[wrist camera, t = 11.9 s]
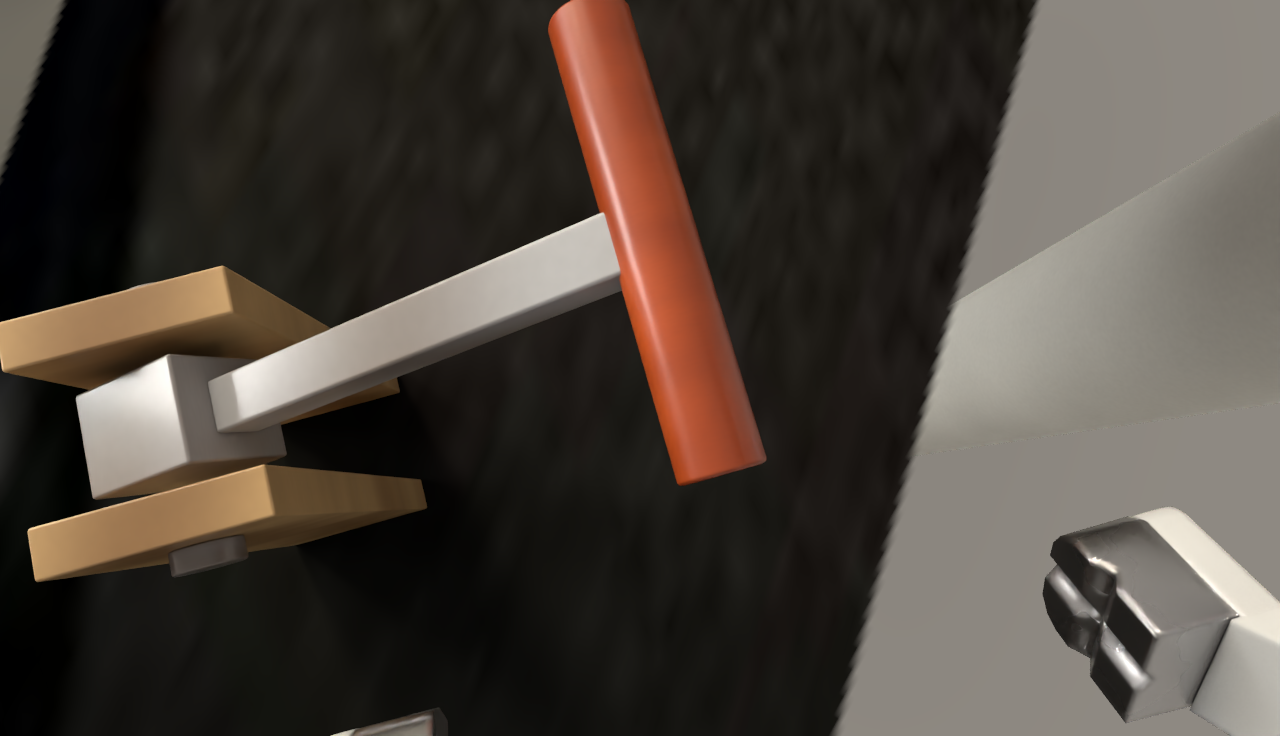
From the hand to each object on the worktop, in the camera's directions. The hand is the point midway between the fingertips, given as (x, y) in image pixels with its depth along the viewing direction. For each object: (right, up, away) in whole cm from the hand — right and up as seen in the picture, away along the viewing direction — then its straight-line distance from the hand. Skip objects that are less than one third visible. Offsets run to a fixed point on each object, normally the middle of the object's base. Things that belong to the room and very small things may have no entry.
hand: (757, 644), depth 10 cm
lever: (-6, +4, +6) cm, 9 cm away
